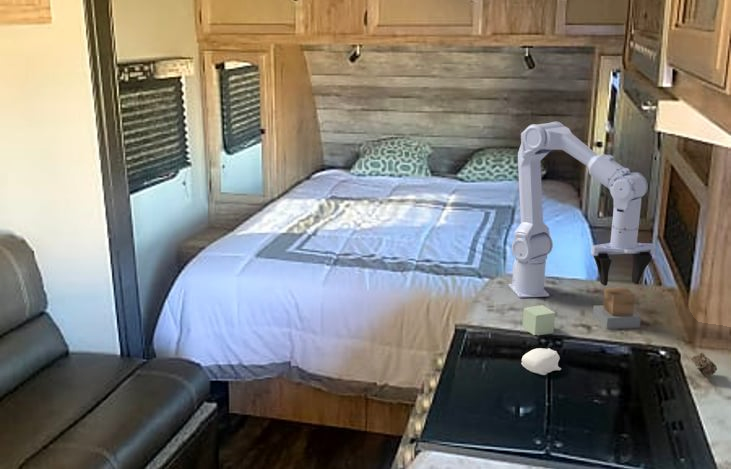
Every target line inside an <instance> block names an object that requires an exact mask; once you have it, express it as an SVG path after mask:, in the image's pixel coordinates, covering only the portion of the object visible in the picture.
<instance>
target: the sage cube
mask: <svg viewBox="0 0 731 469" xmlns="http://www.w3.org/2000/svg"><path fill="white" fill-rule="evenodd" d="M522 315H523V316H522V328H523V329H524V330H525V331H527V332H529V333H530V334H532V335H533V336H534V335H537V336H542V335H549V334H554V333H555V332H554V331H555V318H556V312H555V311H553V310H552V309H550V308H548V307H546V306H545V305H543V304H541V305H534V306H528V307H523V314H522Z"/></svg>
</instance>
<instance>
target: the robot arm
mask: <svg viewBox="0 0 731 469" xmlns="http://www.w3.org/2000/svg"><path fill="white" fill-rule="evenodd" d="M520 142H521V143H520V146H519V149H518V152H517V167H518V169H517V170H518V187H519V189H518V190H519V209H520V210H519V211H520V213H519V214H520V224H519V225H518V227H517V228H516V229H515V230H514V232H513V241H512V244H511V251H512V255H513V256H514V258H515V260H514V261H513V266H512V282H511V283H509V284H508V286H509V288H511V290H512V291H513V292H514V293H515V294H516V295H517V297H518V298H539V297H540V298H543V297H545V298H546V297H550V294H549V293H548V292H547V291H546V290H545V281H546V280H545V277H546V264H547V259H548V255H549V254H550V253H551V252H552V251H553V248H554V246H553V245H554V243H553V239H552V237H551V235H550V228H549V226H548V225H546V224H545V223H544V214H543V211H544V210H543V191H542V190H543V188H542V166H541V165H542V164H541V161H542V160H543V159H544V158H545V157H546V156H547V155H548V154H549V153H550V152H551V151H552V152H553V151H554V150H560V151H564V152H565V153H566V154H568V155H570V156H571V157H573V158H574V159H576V160H578V162H580V163H582V164H583V165H585V166H587V167H588V168H587V169H588V170H587V171H588V174H589V175H590V176H591V177H592V178H594V179H595V180H596V181H598V183H600V184H602V185H603V186H604V187H606V188H607V189H608V190H609V193H610V195H611V197H612V200H613V210H612V211H613V213H612V221H611V222H612V224H611V231H610V232H611V234H610V242H607V243H602V244H601V243H600V244H594V245H593V244H591V245H590V254H591V255H592V256H593V259H594V261H595V264H596V267H597V270H598V274H599V282H600V284H601V285H602V286H604V287H606V286H607V285H608V282H609V281H608V280H609V272H610V268H611V264H612V259H611V258H610V255H624V254H625V255H626V254H627V255H629V254H631V255H632V273H631V282H632V283H633V284H635V285H639V283H640V281H641V278H642V276H643V274H644V272H645V270H646V269H647V267H648V266H649V264H650V263H651V262H652V260H653V256H652V255H654V254H656V245H655V244H653V243H650V242H649V243H645V242H644V243H643V242H638V235H639V229H640V228H639V227H640V226H639V225H640V218H641V210H642V209H641V208H642V197H644V196H645V195H646V194H647V192H648V185H649V184H648V182H647V179H646V178H645V177H644V175H643V174H642V173H640V172H631V170H630V169H629V168H628V167H624V166H622V165H621V164H620V163H618V162H617V161H616V160H614V159H615V157H614V156H613V155H611V154H604V153H602V154H597V153H596V152H595V151H593V149H591V147H589V146H588V145H586V143H584V142H583V141H582V140H580V139H579V138H578V137H577V136H576V135H575V134H574V133H572V131H571V129H570V128H569V127H568V126H565V125H564V124H563V123H562V122H559V121H551V122H547V123H538V124H529V125H528V126H527V127H526V128H525V129H524V130H523V131H522V132H521V133H520Z"/></svg>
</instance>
